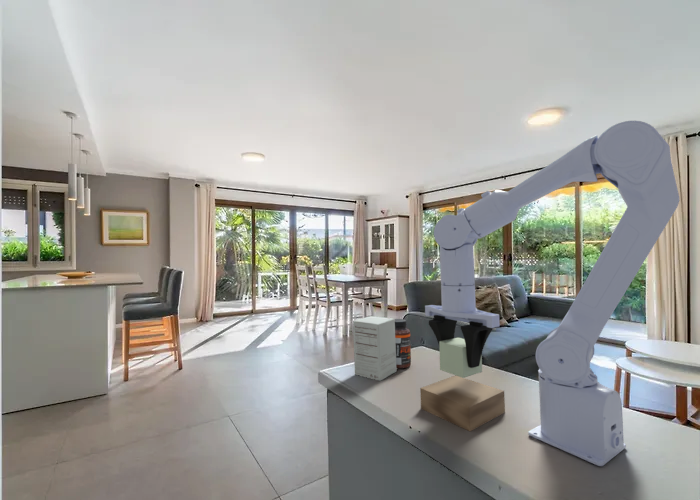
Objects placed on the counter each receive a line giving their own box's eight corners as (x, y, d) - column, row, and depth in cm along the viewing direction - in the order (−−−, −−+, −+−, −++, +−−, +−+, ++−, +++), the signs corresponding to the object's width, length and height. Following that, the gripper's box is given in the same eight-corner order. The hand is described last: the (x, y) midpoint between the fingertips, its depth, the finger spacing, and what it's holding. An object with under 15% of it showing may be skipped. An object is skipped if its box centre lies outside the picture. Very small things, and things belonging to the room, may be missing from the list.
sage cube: (482, 372, 58) (481, 343, 58) (463, 378, 55) (462, 347, 56) (458, 364, 62) (458, 337, 62) (439, 369, 60) (439, 341, 60)
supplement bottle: (404, 371, 79) (402, 323, 80) (382, 366, 83) (381, 320, 83) (415, 364, 84) (413, 319, 84) (394, 360, 88) (393, 317, 88)
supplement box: (371, 366, 84) (370, 315, 84) (397, 372, 79) (395, 318, 79) (353, 375, 78) (351, 320, 78) (380, 381, 73) (378, 323, 73)
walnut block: (505, 414, 58) (504, 390, 58) (470, 433, 52) (469, 407, 52) (456, 395, 66) (455, 375, 66) (421, 410, 60) (420, 388, 60)
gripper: (509, 285, 55) (512, 368, 55) (442, 281, 67) (444, 349, 67) (482, 288, 51) (485, 378, 51) (416, 283, 64) (418, 355, 63)
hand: (460, 362), depth 59 cm, fingers closed on sage cube, 5 cm apart
